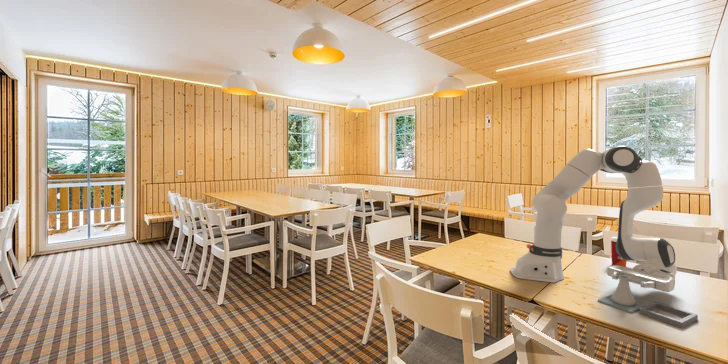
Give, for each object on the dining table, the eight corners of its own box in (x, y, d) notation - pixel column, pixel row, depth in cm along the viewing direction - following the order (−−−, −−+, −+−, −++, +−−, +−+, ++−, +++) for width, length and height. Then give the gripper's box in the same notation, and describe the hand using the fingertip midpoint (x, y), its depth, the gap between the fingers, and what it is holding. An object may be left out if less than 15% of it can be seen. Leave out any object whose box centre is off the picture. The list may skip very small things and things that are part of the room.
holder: (681, 328, 105) (682, 322, 105) (639, 313, 115) (639, 308, 115) (697, 319, 110) (697, 314, 110) (655, 306, 120) (655, 301, 120)
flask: (624, 298, 126) (625, 272, 125) (640, 306, 119) (642, 279, 118) (606, 298, 126) (607, 273, 125) (621, 307, 119) (622, 280, 118)
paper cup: (622, 268, 160) (624, 240, 159) (606, 264, 167) (607, 237, 166) (632, 266, 163) (633, 239, 162) (615, 262, 170) (616, 235, 169)
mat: (631, 313, 115) (631, 311, 115) (597, 301, 125) (597, 299, 125) (647, 306, 120) (647, 305, 120) (613, 295, 130) (613, 294, 130)
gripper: (617, 260, 139) (598, 265, 133) (680, 275, 120) (661, 281, 114) (616, 274, 139) (597, 280, 133) (679, 291, 121) (660, 299, 115)
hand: (627, 281), depth 123 cm, fingers open, 8 cm apart
